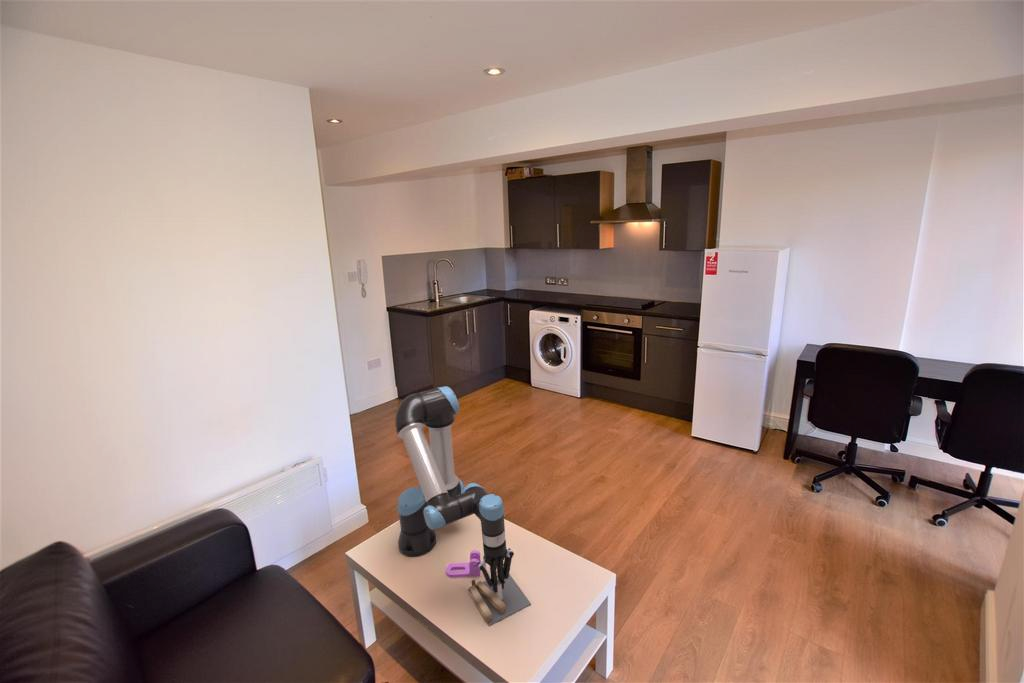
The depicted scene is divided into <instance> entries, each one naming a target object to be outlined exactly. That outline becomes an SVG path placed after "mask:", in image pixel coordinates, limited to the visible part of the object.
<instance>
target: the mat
mask: <svg viewBox="0 0 1024 683" xmlns="http://www.w3.org/2000/svg"><path fill="white" fill-rule="evenodd" d="M497 579H498V576H497ZM504 581H505V584H504V589H502V597H503V599H502V600H501V601H502V602H503V603H504V604H505V605H506V611H505V612H504V613H503V614H501V613H500V612H499V611H498V610H497V609H496V608H495V607H494V606H493V605H492V604H491V603H490V602H489V601H488V600H487V599H486V598H485V597H484V596H483V595H482V594H481V593H480V592H479V591H478V592H479V594H480V595H481V597H482V599H483V600H484V602H485V604H486V605H487V607H488V608H489V610H490V612H491V613H492V621H490V622H488V623H487V622H486V623H487V625H488V627H491V626H494V625H495V624H497V623H498V622H501V621H502V620H505V619H506V618H508V617H510V616H512V615H514V614H516V613H518V612H521V611H522V610H525V609H526V608H528V607H530V606H532V603H531V601H530V600H529V599H528V597H527V596H526V594H525V593H524V592H523V591H522V588H520V587H519V586H520V585H518V584H517V582H516V581H515V579H514V578H513V576H512V575H511V574H510V573H509V577H508V579H505V580H504ZM482 582H483V583H484V584H485V585H486V586H487V587H488V588H489V589H490V590H491V591H492V592H493V593H494V594H495V592H494V591H493V589H492V587H490V586H489V585H488V583H487V582H486V580H485V581H482ZM467 591H468V592H469V588H468V589H467Z"/></svg>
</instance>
